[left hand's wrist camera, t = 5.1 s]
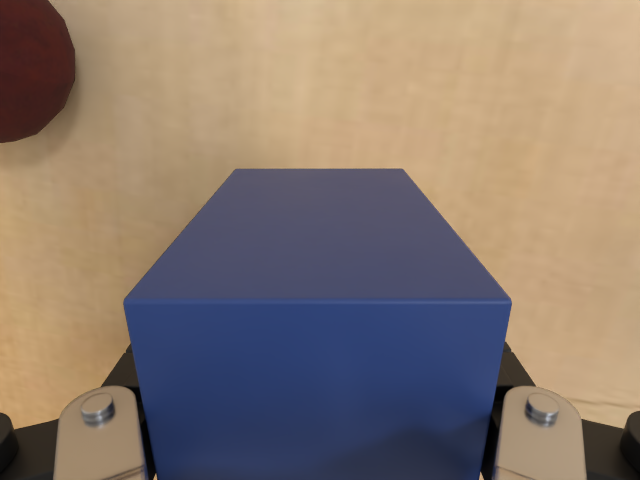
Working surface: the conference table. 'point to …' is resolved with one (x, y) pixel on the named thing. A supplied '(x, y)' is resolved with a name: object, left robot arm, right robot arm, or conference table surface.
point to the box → (318, 334)
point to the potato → (32, 67)
